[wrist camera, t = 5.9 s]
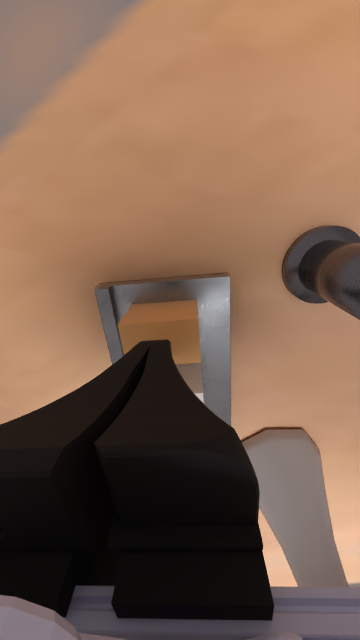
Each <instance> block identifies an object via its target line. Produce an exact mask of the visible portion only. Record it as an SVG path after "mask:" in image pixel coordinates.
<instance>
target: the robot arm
mask: <svg viewBox="0 0 360 640" xmlns="http://www.w3.org/2000/svg"><path fill="white" fill-rule="evenodd" d="M259 497H260V491H259V484H258V480H257V476H256V473H255V471H254V468H253V466H252V463H251V461H250V459H249V456H248V454H247V452H246V450H245V448H244V446H243V444H242V442H241V440H240V439H239V437H238V435H237V433H236V431H235V430H234V428H232V427H231V426H230V425H228V424H227V423H226V422H224V421H223V420H222V419H220V418H219V417H218V416H217V415H215V414H214V413H213V412H212V411H211V410H210V409H209V408H208V407H207V406H205V404H204V403H203V402H202V401H201V400H200V399H199V398H198V397H197V396H196V395H195V394H194V393H193V391H192V390H191V389H190V387H189V386H188V385H187V383H186V382H185V380H184V379H183V377H182V376H181V374H180V372H179V370H178V369H177V367H176V364H175V362H174V360H173V357H172V350H171V342H170V341H169V340H168V339H165V340H149V341H140V342H139V343H138V344H137V345H135V346H134V347H133V348H132V349H131V350H130V351H128V352H127V353H126V354H125V355H124V356H123V357H121V358H120V359H119V360H118V361H117V362H115V363H114V364H113V365H112V366H110V367H109V368H108V369H106V370H105V371H104V372H102V373H101V374H100V375H98V376H97V377H96V378H94V379H93V380H91V381H90V382H88V383H86V384H85V385H83V386H82V387H80V388H78V389H77V390H75V391H73V392H71V393H69V394H67V395H65V396H64V397H62V398H60V399H58V400H56V401H54V402H52V403H50V404H48V405H46V406H44V407H42V408H40V409H38V410H35V411H33V412H31V413H28V414H26V415H24V416H21V417H19V418H17V419H14V420H12V421H9V422H7V423H4V424H1V425H0V640H360V587H270V584H269V579H268V575H267V570H266V566H265V561H264V557H263V552H262V550H263V543H262V537H261V533H260V529H259V524H258V512H259Z"/></svg>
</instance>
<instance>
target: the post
mask: <svg viewBox="0 0 360 640" xmlns="http://www.w3.org/2000/svg"><path fill="white" fill-rule="evenodd" d="M282 276H283V280H284V283H285V285H286V287H287V289H288V290H289V291H290V292H291V293H292V294H293V295H295V296H296V297H297V298H299V299H301V300H303V301H305V302H309V303H325V302H330V303H332V304H334V305H335V306H337V307H339V308H341V309H342V310H344V311H346V312H347V313H349V314H351V315H353V316H354V317H356V318H358V319H359V320H360V237H359V236H358V235H357V234H356V233H355V232H353V231H352V230H350V229H348V228H345V227H340V226H322V227H318V228H314V229H312V230H310V231H308V232H306V233H304V234H303V235H302V236H300V237H299V238H298V239H297V240H296V241H295V242H294V243H293V244H292V245H291V247H290V248H289V250H288V252H287V253H286V256H285V258H284V261H283V266H282Z"/></svg>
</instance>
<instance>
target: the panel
mask: <svg viewBox="0 0 360 640" xmlns="http://www.w3.org/2000/svg"><path fill="white" fill-rule="evenodd" d="M95 294H96V298H97V303H98V307H99V311H100V315H101V319H102V324H103V328H104V332H105V336H106V340H107V345H108V349H109V353H110V357H111V361H112V365H113V364H114V363H115V362H117V361H118V360H119V359H120V358H121V357H123V356H124V352H123V347H122V343H121V338H120V333H119V329H118V323H119V322H120V321H121V319H122V318H123V316H124V315H125V313H126V312H127V310H128V309H129V307H130V306H131V305H133V304H146V303H159V302H173V301H186V300H197V310H198V321H199V336H200V352H201V374H202V386H203V399H204V404H205V406H207V407H208V408H209V409H210V410H211V411H212V412H213V413H214V414H215V415H217V416H218V417H219V418H220V419H222V420H223V421H224V422H226V423H227V424H228V425H230V426H231V368H230V276H229V275H228V273H220V274H208V275H195V276H183V277H171V278H159V279H146V280H134V281H122V282H109V283H100V284H99V285H97V286H96V287H95ZM188 364H191V363H188Z"/></svg>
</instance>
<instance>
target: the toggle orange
mask: <svg viewBox="0 0 360 640" xmlns="http://www.w3.org/2000/svg"><path fill="white" fill-rule="evenodd" d="M118 329H119V333H120V338H121V343H122V347H123V352H124V355H125V354H126V353H127V352H128V351H130V350H131V349H132V348H133V347H134V346H135V345H137V344H138V343H139V342H140V341H149V340H165V339H168V340H169V341H170V342H171V350H172V357H173V360H174V362H175V364H188V363H201V352H200V336H199V321H198V310H197V300H186V301H173V302H159V303H146V304H133V305H131V306H130V307H129V309H128V310H127V312H126V313H125V315H124V316H123V318H122V319H121V321H120V322H119V323H118Z"/></svg>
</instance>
